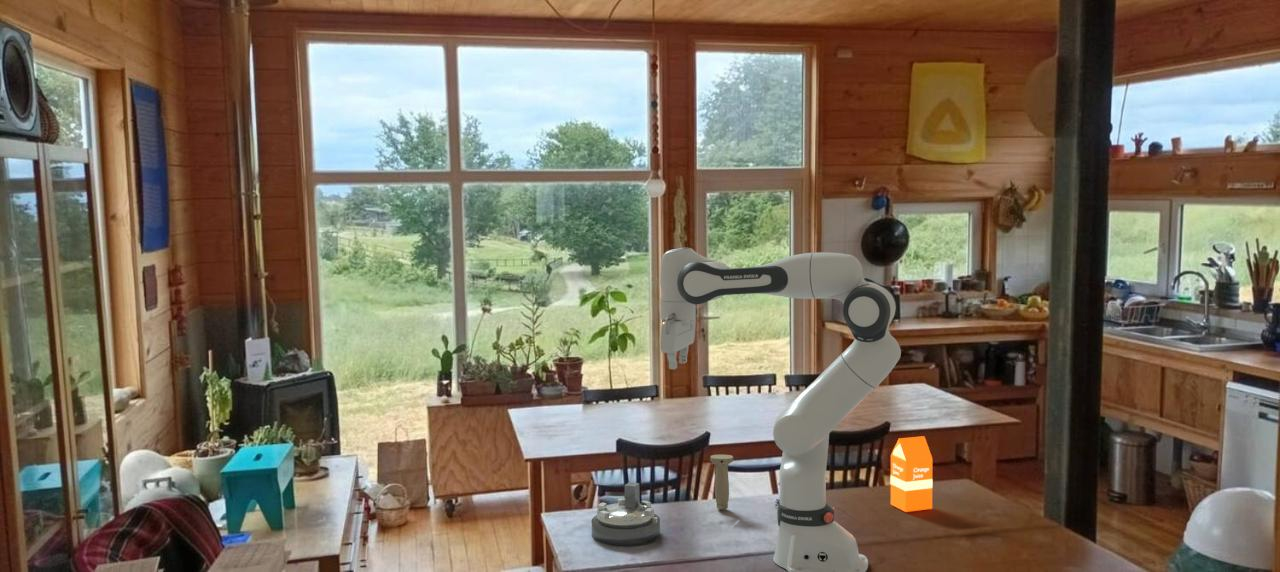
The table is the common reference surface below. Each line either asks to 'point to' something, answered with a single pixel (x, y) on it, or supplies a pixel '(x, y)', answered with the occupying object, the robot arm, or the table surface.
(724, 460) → the handle
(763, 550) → the table surface
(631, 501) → the round clock
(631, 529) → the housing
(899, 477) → the orange juice
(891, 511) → the table surface
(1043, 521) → the table surface
